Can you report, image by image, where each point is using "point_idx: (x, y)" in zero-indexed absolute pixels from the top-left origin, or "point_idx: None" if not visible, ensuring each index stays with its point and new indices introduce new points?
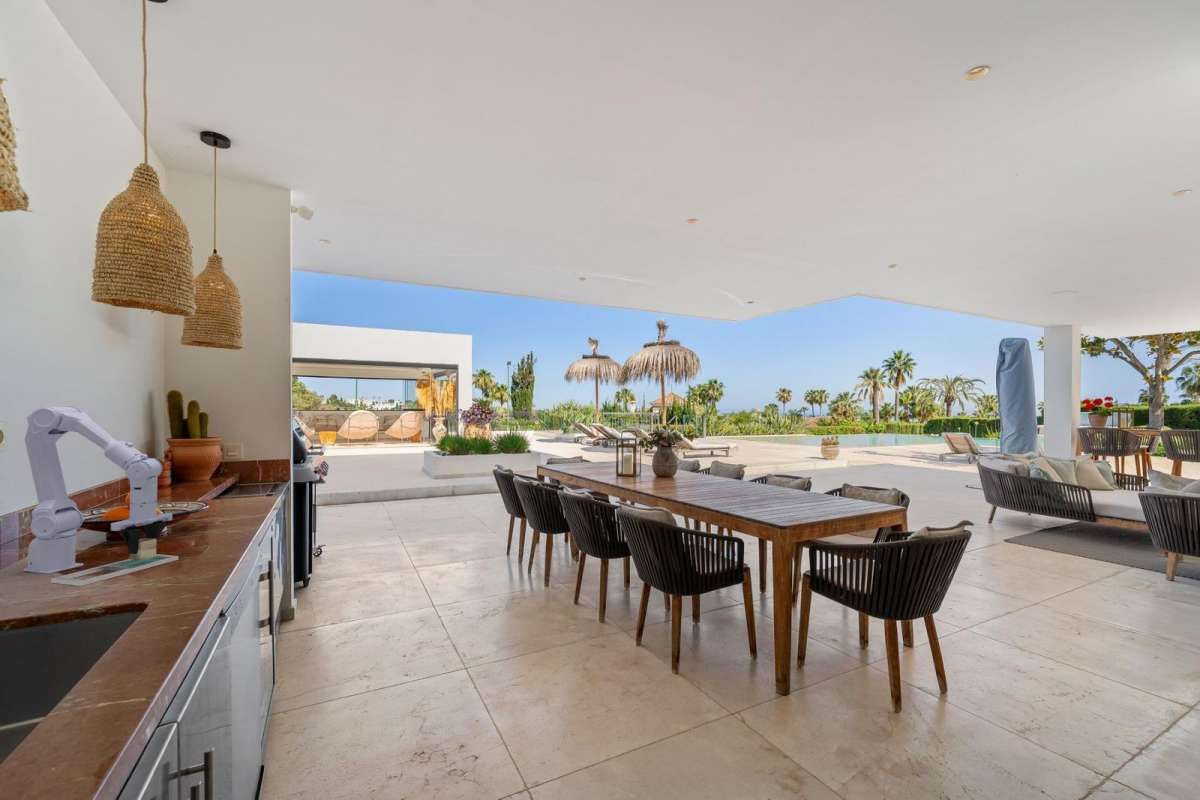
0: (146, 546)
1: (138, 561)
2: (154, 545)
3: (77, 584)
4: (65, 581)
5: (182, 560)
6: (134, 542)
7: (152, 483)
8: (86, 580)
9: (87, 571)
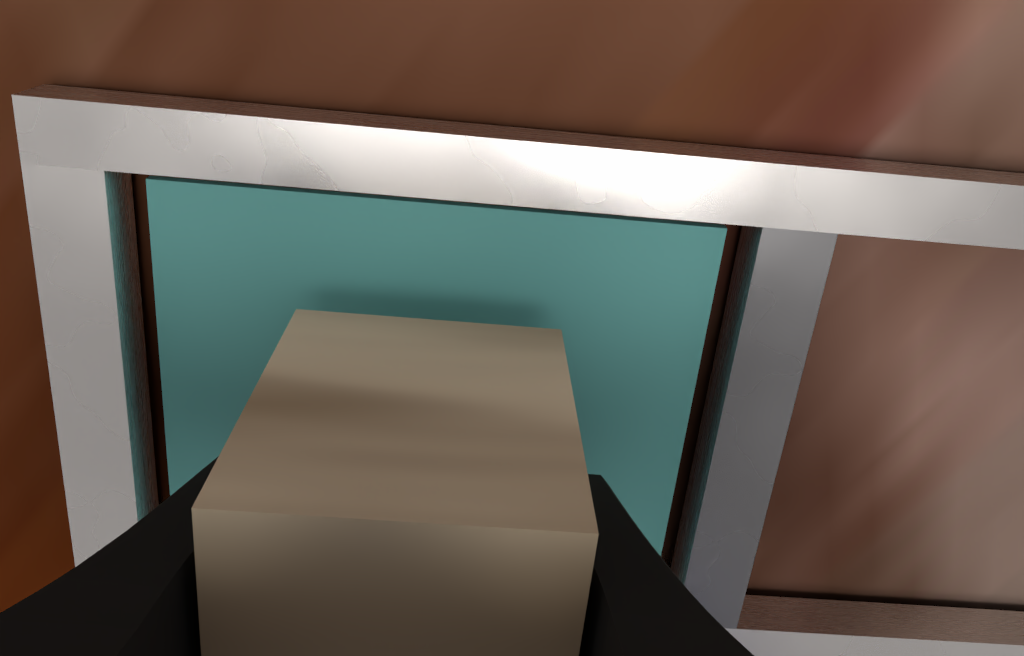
0: (463, 445)
1: None
2: (285, 418)
3: None
4: None
5: (17, 7)
6: (704, 609)
7: None
8: None
9: (935, 630)
